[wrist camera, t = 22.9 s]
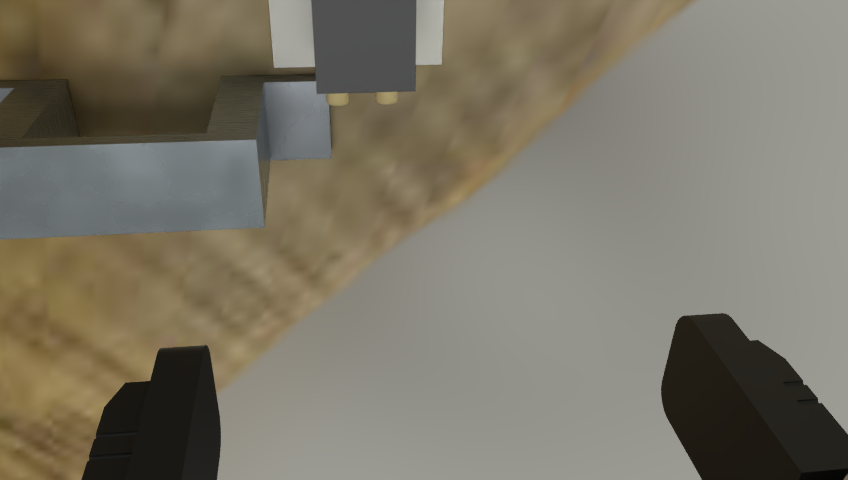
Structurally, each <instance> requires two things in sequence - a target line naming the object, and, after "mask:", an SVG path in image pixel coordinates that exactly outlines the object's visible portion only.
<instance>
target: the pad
mask: <svg viewBox="0 0 848 480" xmlns="http://www.w3.org/2000/svg"><path fill="white" fill-rule="evenodd" d="M269 12H270V24H271V37H272V50H273V62H274V68H288V67H315V57H314V40H313V23H312V5H311V0H269ZM443 14H444V0H416V65H442V40H443Z"/></svg>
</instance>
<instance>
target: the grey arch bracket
mask: <svg viewBox="0 0 848 480" xmlns="http://www.w3.org/2000/svg"><path fill="white" fill-rule="evenodd" d="M325 158H331V138H330V114H329V104H327V101H326V94H317V91H316V74H309V75H260V76H221V80H220V84H219V88H218V91H217V95H216V99H215V102H214V106H213V110H212V113H211V117H210V121H209V125H208V128H207V132H206V133H195V134H162V135H128V136H95V137H80V136H79V132H78V127H77V123H76V118H75V114H74V110H73V105H72V101H71V96H70V92H69V87H68V83H67V79H66V80H17V81H0V239H21V238H43V237H65V236H87V235H109V234H131V233H153V232H175V231H197V230H219V229H241V228H263V227H265V217H266V205H267V193H268V181H269V170H270V160H296V159H325Z"/></svg>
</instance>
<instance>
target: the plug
mask: <svg viewBox="0 0 848 480" xmlns="http://www.w3.org/2000/svg"><path fill="white" fill-rule="evenodd" d="M311 5H312V23H313V40H314V57H315V74H316V91H317V94H326V101H327V104H329V105H332V106H342V105H346V104H348V103H349V93H371V92H376V102H378V103H380V104H394V103H396V102H397V101H398V92H403V91H415V84H416V0H311Z"/></svg>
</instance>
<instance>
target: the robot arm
mask: <svg viewBox="0 0 848 480" xmlns="http://www.w3.org/2000/svg"><path fill="white" fill-rule="evenodd" d="M661 396H662V403H663V408H664V411H665V414H666V416H667V418H668V420H669V422H670V424H671V425H672V427H673V429H674V431H675V433H676V434H677V436H678V438H679V440H680V441H681V443H682V445H683V447H684V449H685V450H686V452H687V454H688V456H689V457H690V459H691V461H692V463H693V464H694V466H695V468H696V470H697V471H698V473H699V475H700V477H701V478H702V480H848V434H847V433H846V432H845V431H844V429H843V428H842V427H841V426H840V425H839V424H838V422H837V421H836V420H835V419H834V417H833V416H832V415H831V414H830V413H829V412H828V410H827V409H826V408H825V407H824V405H823V404H822V403H818V398H817V397H816V396H815V395H814V393H813V392H812V391H811V390H810V389H809V387H808V386H807V385H804V384H803V380H802V379H801V378H800V376H799V375H798V374H797V373H796V371H795V370H794V369H793V368H792V367H791V365H790V364H789V363H788V362H787V361H786V359H785V358H783V357H782V356H780V355H779V354H777V353H776V352H774V351H773V350H771V349H770V348H769V347H767V346H765V345H764V344H763V343H761V342H760V341H758V340H754V341H749V339H748V338H747V337H746V336H745V334H744V333H743V332H742V331H741V329H740V328H739V327H738V325H737V324H736V323H735V322H734V320H733V319H732V318H731V317H730V316H729V315H727V314H723V313H722V314H707V315H691V316H682V317H681V318H680V319H679V320H678V322H677V324H676V327H675V331H674V335H673V339H672V343H671V347H670V351H669V355H668V360H667V364H666V368H665V372H664V376H663V380H662V386H661ZM220 446H221V428H220V415H219V409H218V402H217V395H216V389H215V383H214V376H213V370H212V363H211V357H210V352H209V348H208V346H207V345H204V346H189V347H173V348H161V349H159V351H158V353H157V357H156V361H155V365H154V369H153V373H152V377H151V381H145V382H130V383H125V384H124V385H123V386H122V387H121V389H120V390H119V391H118V392H117V393H116V394H115V396H114V397H113V398H112V399H111V400H110V401H109V402H108V404H107V405H106V406H105V407H104V410H103V413H102V416H101V420H100V423H99V426H98V429H97V432H96V439H94V442H93V445H92V448H91V451H90V455H89V461H88V462H87V464H86V467H85V471H84V474H83V477H82V480H217V474H218V466H219V458H220Z"/></svg>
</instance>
